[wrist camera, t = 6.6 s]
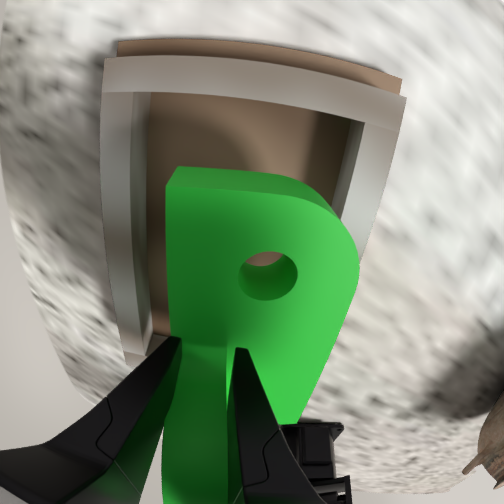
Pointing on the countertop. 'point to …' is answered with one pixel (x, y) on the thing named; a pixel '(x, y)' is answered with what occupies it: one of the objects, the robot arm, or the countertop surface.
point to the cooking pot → (491, 444)
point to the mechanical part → (245, 308)
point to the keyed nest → (229, 148)
